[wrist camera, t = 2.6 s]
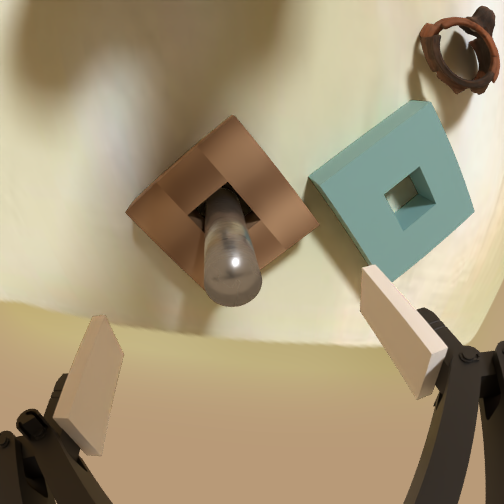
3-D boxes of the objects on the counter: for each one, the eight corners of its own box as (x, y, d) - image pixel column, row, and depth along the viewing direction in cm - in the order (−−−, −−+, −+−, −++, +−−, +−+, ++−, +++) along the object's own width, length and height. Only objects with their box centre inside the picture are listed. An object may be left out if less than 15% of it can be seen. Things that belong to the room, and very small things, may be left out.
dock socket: (308, 176, 30) (319, 185, 27) (411, 100, 27) (430, 101, 24) (372, 271, 36) (385, 287, 33) (456, 201, 33) (474, 211, 30)
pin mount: (133, 200, 29) (125, 212, 26) (232, 114, 27) (235, 116, 24) (216, 282, 34) (217, 301, 31) (309, 211, 32) (320, 224, 28)
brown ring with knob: (471, 107, 29) (490, 114, 22) (404, 67, 30) (408, 63, 24) (503, 31, 21) (527, 22, 15) (435, -10, 23) (445, -30, 16)
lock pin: (198, 203, 30) (191, 281, 17) (224, 181, 29) (237, 245, 17) (220, 227, 31) (229, 315, 19) (246, 206, 31) (273, 284, 18)
